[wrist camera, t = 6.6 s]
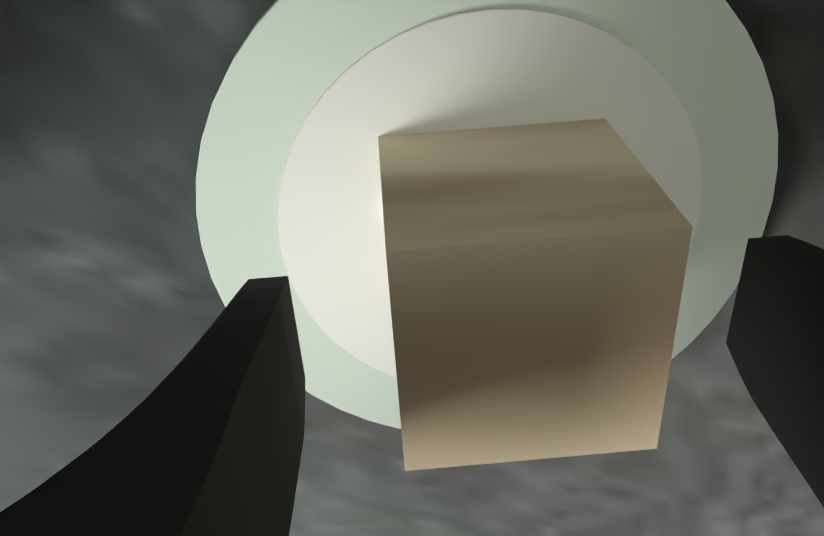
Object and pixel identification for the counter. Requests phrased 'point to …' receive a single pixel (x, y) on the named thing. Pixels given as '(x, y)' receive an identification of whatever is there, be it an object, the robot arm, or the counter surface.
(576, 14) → the dish
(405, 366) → the block
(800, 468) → the robot arm
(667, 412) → the counter surface
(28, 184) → the counter surface
